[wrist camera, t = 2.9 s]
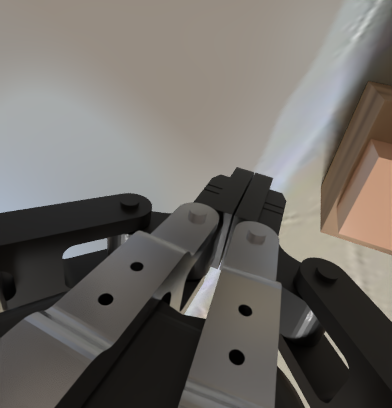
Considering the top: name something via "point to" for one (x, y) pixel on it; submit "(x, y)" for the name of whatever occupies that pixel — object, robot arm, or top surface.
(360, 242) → the brown block
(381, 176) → the tile
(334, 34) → the top surface
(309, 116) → the top surface
